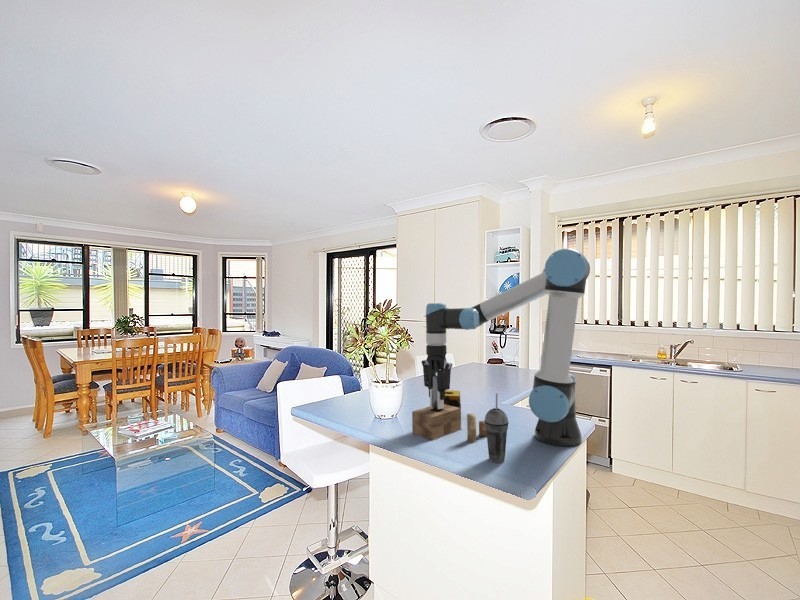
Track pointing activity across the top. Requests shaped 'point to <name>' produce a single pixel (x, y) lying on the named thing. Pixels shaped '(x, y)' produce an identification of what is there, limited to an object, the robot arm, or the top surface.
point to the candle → (452, 398)
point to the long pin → (435, 393)
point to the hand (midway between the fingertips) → (436, 407)
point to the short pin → (482, 429)
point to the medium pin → (471, 427)
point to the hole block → (436, 421)
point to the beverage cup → (496, 433)
